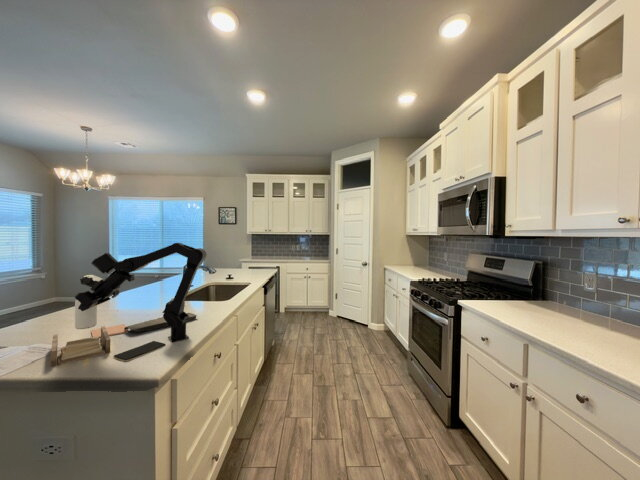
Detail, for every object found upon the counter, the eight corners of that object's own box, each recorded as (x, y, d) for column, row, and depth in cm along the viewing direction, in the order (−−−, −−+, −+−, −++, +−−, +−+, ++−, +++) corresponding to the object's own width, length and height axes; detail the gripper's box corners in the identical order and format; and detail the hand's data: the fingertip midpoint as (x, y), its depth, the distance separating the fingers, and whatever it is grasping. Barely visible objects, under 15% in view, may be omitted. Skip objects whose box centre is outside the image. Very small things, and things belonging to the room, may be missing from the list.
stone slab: (123, 324, 118) (188, 309, 142) (123, 331, 118) (188, 314, 142) (132, 330, 112) (199, 312, 136) (132, 337, 112) (199, 319, 136)
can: (81, 324, 106) (81, 295, 106) (100, 323, 108) (100, 294, 108) (70, 330, 100) (70, 298, 100) (91, 328, 102) (91, 298, 101)
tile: (128, 332, 116) (128, 330, 116) (93, 339, 108) (93, 337, 108) (124, 325, 125) (124, 324, 125) (91, 331, 116) (91, 330, 116)
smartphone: (166, 343, 103) (125, 359, 89) (166, 346, 103) (125, 363, 89) (154, 340, 106) (112, 355, 92) (154, 343, 106) (112, 358, 92)
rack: (110, 352, 96) (110, 339, 96) (51, 366, 86) (51, 351, 85) (104, 337, 110) (104, 325, 110) (53, 348, 99) (53, 335, 99)
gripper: (111, 265, 113) (82, 291, 111) (80, 271, 95) (45, 302, 93) (131, 282, 115) (103, 309, 113) (105, 291, 97) (71, 323, 95)
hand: (82, 310), depth 103 cm, fingers closed on can, 5 cm apart
